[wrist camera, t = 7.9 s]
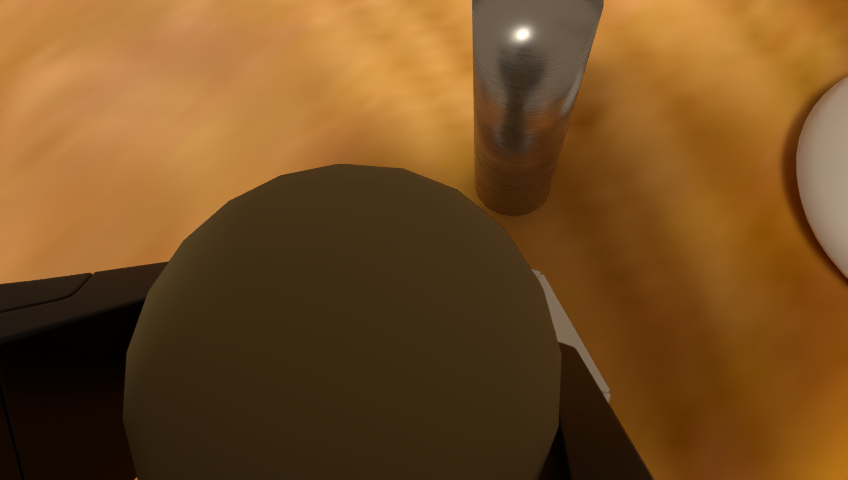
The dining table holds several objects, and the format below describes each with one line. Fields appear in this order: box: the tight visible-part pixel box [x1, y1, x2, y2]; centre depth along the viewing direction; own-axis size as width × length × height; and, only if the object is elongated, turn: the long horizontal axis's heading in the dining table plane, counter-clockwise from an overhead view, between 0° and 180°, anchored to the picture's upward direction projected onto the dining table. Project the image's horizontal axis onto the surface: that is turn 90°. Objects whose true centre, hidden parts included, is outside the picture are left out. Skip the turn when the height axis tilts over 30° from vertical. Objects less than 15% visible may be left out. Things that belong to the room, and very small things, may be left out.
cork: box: [123, 164, 562, 480], centre depth 10 cm, size 6×6×11 cm
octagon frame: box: [472, 0, 611, 403], centre depth 14 cm, size 16×10×9 cm, turn 159°
